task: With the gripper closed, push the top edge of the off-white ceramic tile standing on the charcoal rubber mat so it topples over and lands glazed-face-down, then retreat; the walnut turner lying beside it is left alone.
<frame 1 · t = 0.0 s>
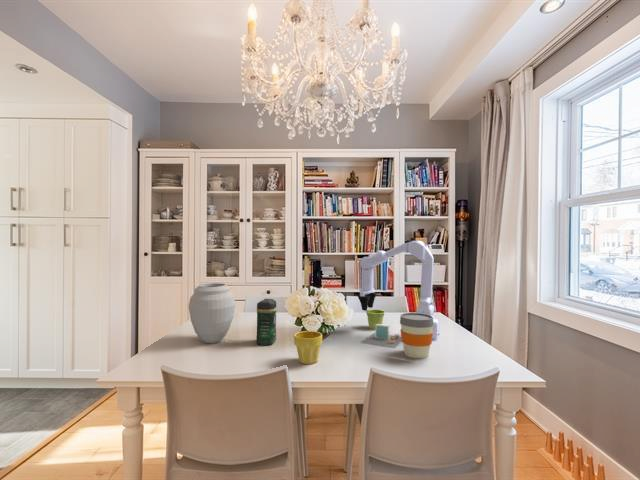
hand: (367, 308, 169), 10 cm above the table, fingers open, 7 cm apart
tile: (382, 338, 152), resting on mat
reusable coffee cup: (416, 355, 132), on the table
turner: (393, 340, 150), resting on mat
coffee jar: (266, 342, 148), on the table
mat: (383, 340, 150), on the table
plant pot: (308, 361, 126), on the table
plant pot 2: (375, 329, 170), on the table
vase: (212, 341, 150), on the table
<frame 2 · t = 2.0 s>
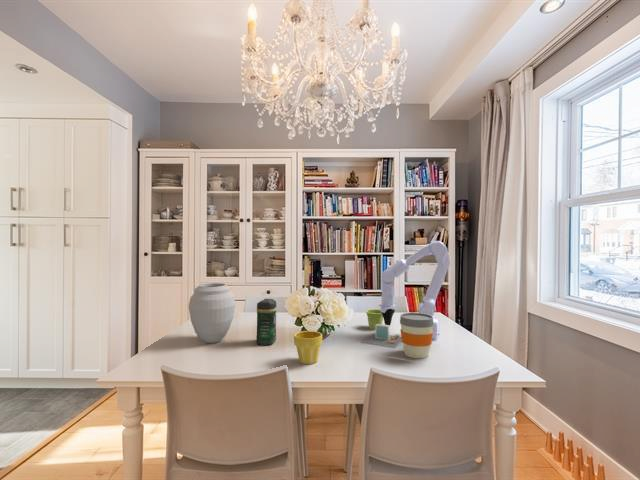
hand: (387, 325, 158), 5 cm above the table, fingers closed
nothing on the table moved.
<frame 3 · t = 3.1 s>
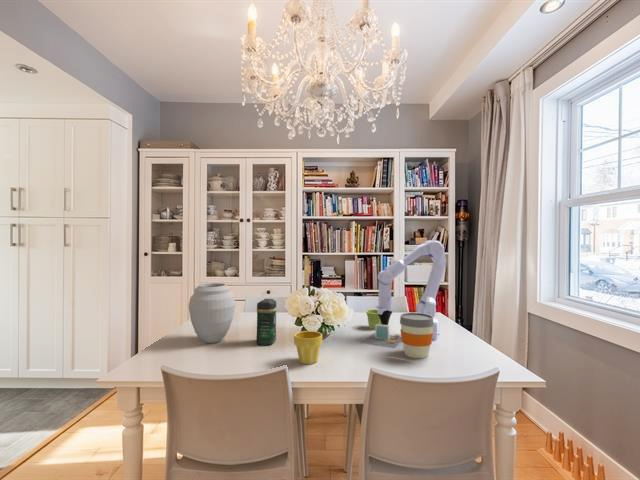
hand: (384, 327, 155), 5 cm above the table, fingers closed
nothing on the table moved.
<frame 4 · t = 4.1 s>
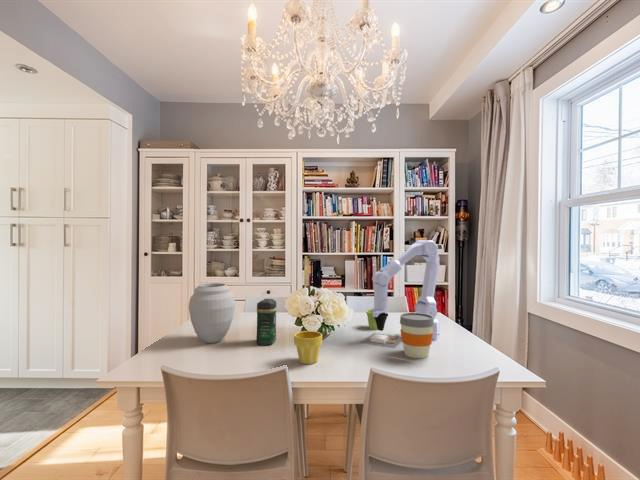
hand: (380, 330, 150), 5 cm above the table, fingers closed
tile: (382, 336, 152), point 1 cm above the table, tilted 90°, touching mat
everything else where it was.
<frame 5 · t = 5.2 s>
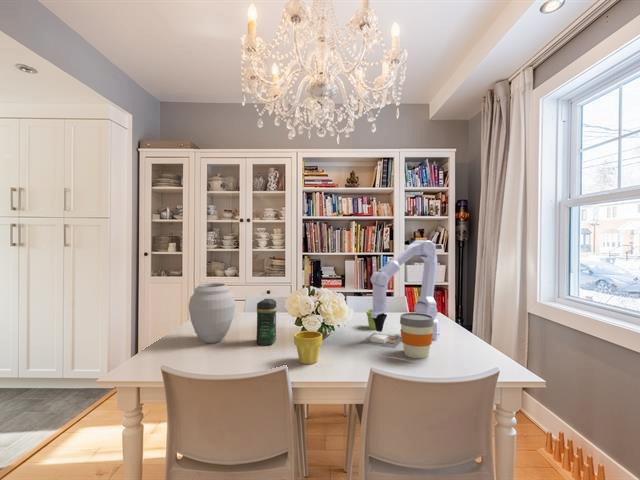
hand: (379, 331, 148), 5 cm above the table, fingers closed
nothing on the table moved.
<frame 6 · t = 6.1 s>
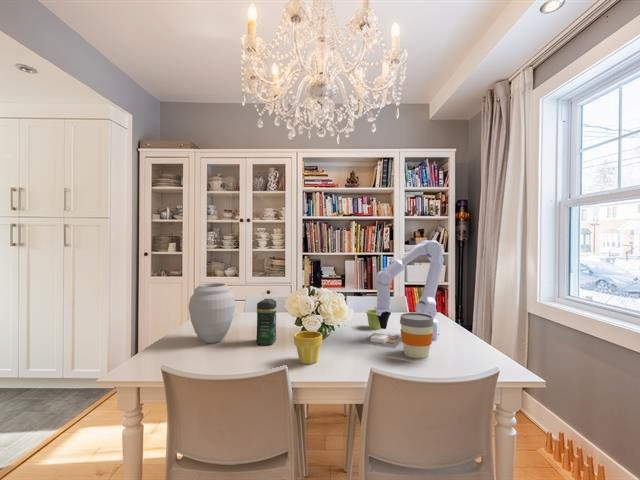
hand: (383, 328, 153), 5 cm above the table, fingers closed
nothing on the table moved.
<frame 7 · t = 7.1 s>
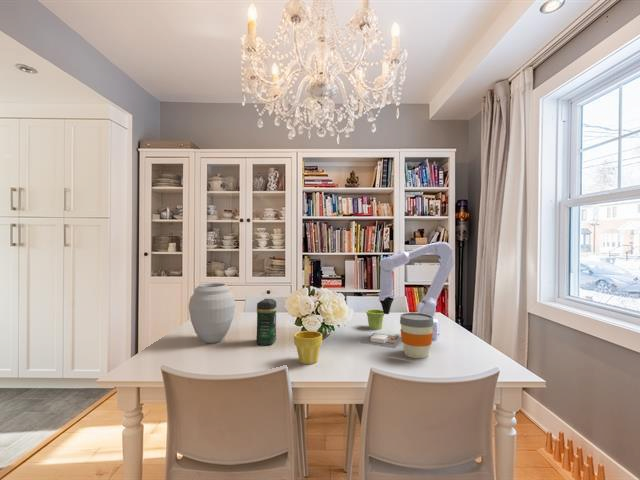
hand: (386, 313, 157), 10 cm above the table, fingers closed
nothing on the table moved.
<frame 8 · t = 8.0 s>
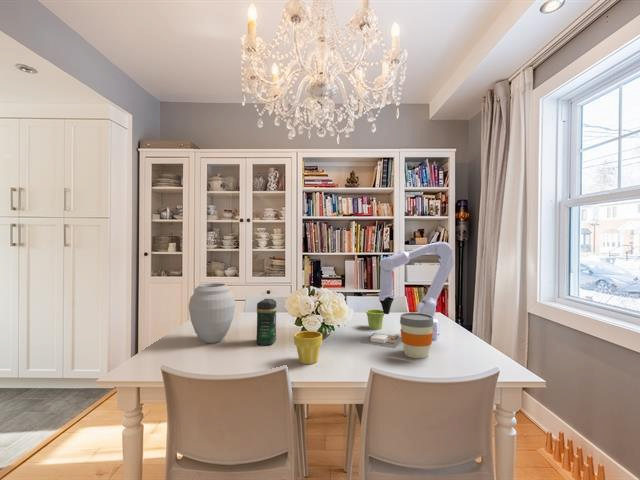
hand: (386, 313, 157), 10 cm above the table, fingers closed
nothing on the table moved.
at the end: tile tilted 90°; tile inside the target area (3.6 cm from its centre), point 1.3 cm above the table; the gripper is holding nothing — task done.
